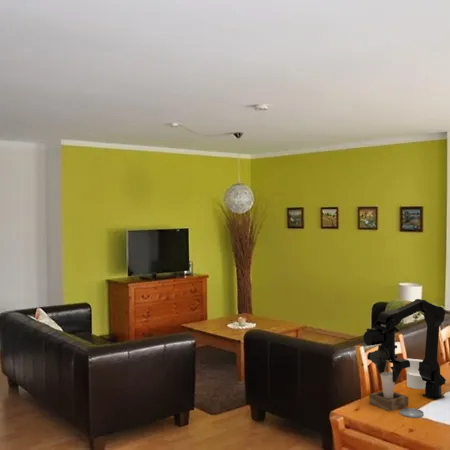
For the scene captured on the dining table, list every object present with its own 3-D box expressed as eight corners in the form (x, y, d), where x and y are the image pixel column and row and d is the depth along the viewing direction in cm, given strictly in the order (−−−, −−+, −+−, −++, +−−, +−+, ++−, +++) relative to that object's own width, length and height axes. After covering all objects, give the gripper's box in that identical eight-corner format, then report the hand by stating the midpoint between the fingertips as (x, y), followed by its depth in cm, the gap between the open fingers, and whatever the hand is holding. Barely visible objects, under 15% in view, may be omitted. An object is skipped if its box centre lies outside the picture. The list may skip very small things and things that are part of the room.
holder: (388, 398, 232) (387, 389, 232) (408, 406, 222) (408, 396, 222) (369, 403, 226) (369, 394, 226) (389, 411, 217) (389, 401, 217)
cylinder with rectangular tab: (405, 387, 247) (405, 361, 247) (408, 382, 255) (408, 356, 255) (426, 390, 243) (425, 363, 242) (428, 384, 251) (428, 358, 250)
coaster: (410, 408, 220) (410, 406, 220) (428, 415, 212) (428, 413, 212) (394, 412, 216) (394, 410, 216) (412, 419, 208) (412, 417, 208)
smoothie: (394, 400, 220) (393, 366, 220) (378, 398, 223) (378, 364, 223) (398, 396, 225) (397, 362, 225) (382, 393, 229) (382, 360, 228)
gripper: (357, 341, 228) (357, 377, 228) (391, 350, 212) (391, 389, 212) (376, 337, 234) (377, 373, 234) (410, 346, 217) (411, 384, 218)
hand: (388, 380), depth 224 cm, fingers closed on smoothie, 6 cm apart
